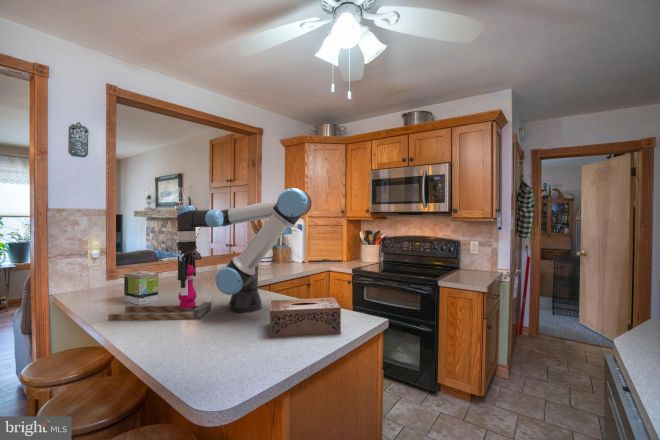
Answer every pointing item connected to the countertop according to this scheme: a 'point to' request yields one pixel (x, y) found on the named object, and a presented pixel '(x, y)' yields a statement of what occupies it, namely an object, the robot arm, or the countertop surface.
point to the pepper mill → (188, 300)
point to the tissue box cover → (304, 317)
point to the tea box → (141, 287)
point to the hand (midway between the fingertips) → (187, 292)
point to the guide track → (197, 315)
